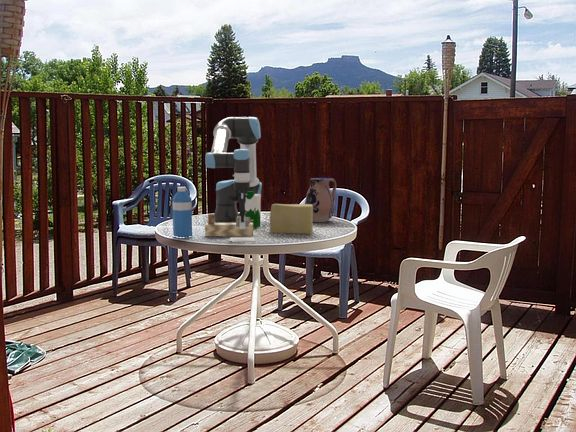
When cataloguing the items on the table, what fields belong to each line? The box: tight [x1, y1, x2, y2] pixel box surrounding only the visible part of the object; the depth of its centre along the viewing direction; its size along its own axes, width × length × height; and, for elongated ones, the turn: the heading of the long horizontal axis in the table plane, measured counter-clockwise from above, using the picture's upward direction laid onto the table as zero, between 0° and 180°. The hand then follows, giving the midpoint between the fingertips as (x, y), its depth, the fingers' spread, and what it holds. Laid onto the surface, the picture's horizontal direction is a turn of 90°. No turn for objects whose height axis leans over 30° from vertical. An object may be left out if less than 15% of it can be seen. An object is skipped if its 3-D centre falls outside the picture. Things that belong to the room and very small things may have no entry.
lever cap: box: [235, 216, 249, 227], centre depth 304 cm, size 6×10×4 cm, turn 5°
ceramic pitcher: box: [304, 177, 337, 223], centre depth 365 cm, size 18×21×25 cm
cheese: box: [269, 203, 314, 235], centre depth 326 cm, size 22×10×15 cm, turn 84°
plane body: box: [204, 213, 254, 237], centre depth 318 cm, size 24×6×11 cm, turn 95°
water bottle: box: [172, 186, 193, 237], centre depth 312 cm, size 9×9×25 cm
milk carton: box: [245, 191, 262, 229], centre depth 343 cm, size 9×9×20 cm
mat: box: [229, 236, 256, 243], centre depth 306 cm, size 12×12×1 cm
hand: (242, 227), depth 305 cm, fingers closed on lever cap, 10 cm apart
